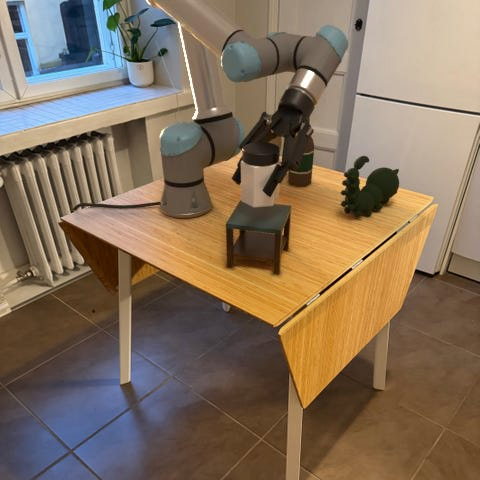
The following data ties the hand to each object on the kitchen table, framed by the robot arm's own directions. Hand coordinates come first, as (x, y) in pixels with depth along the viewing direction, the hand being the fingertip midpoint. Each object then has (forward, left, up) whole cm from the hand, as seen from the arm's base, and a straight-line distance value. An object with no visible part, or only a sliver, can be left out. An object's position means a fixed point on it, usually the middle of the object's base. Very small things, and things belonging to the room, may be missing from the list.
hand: (250, 187), depth 105 cm
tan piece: (-9, +57, -20) cm, 61 cm away
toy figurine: (+27, +38, -20) cm, 50 cm away
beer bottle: (+4, +53, -20) cm, 56 cm away
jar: (+2, +3, -4) cm, 5 cm away
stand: (+2, +3, -20) cm, 20 cm away
